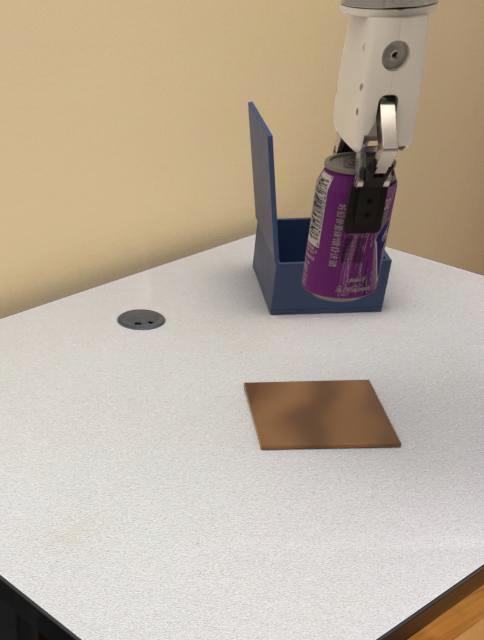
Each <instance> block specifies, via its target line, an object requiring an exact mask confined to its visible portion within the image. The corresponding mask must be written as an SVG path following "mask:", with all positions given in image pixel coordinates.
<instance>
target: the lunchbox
mask: <svg viewBox="0 0 484 640" xmlns="http://www.w3.org/2000/svg"><path fill="white" fill-rule="evenodd" d="M256 221H257V220H256ZM310 221H311V216H310V217H308V216H307V217H283V218H282V217H281V218H277V226H278V246H279V261H274V259H273V257H272V254H271V252H270V250H269V247H268V245H267V243H266V240H265V238H264V235H263V233H262V231H261V228H260V226H259V224H258V221H257V222H256V230H255V238H254V249H253V259H252V269H253V271H254V274H255V276H256V277H255V278H256V279H257V282H258V285H259V288H260V290H261V293H262V296H263V299H264V302H265V304H266V306H267V309H268V313H269V315H270V316H271V315H299V314H300V315H301V314H305V315H306V314H334V313H335V314H337V313H338V314H339V313H366V312H367V313H369V312H372V313H373V312H382V310H383V307H384V301H385V295H386V291H387V286H388V281H389V278H390V277H389V276H390V271H391V267H392V262H393V261H392V258H391V257H390V255H389V254H388V252H387V251H386V249H385V250H384V255H383V260H382V265H381V270H380V275H379V280H378V285H377V289H376V290H375V291H374V292H373V293H371V294H369V295H367V296H364V297H361V298H359V299H357V300H353V301H347V302H334V301H327V300H323V299H320V298H318V297H316V296H315V295H313V294H312V293H310V292H308V291H307V290H305V289H304V288H303V286H302V276H303V269H304V263H305V256H306V249H307V242H308V235H309V228H310Z"/></svg>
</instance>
